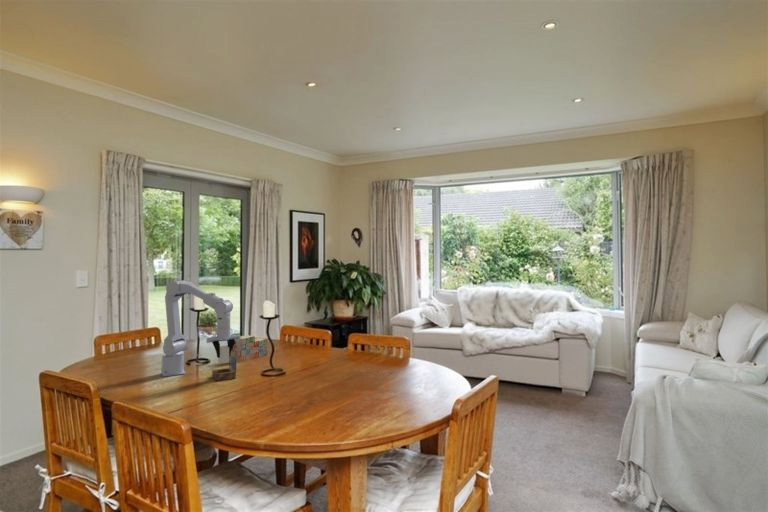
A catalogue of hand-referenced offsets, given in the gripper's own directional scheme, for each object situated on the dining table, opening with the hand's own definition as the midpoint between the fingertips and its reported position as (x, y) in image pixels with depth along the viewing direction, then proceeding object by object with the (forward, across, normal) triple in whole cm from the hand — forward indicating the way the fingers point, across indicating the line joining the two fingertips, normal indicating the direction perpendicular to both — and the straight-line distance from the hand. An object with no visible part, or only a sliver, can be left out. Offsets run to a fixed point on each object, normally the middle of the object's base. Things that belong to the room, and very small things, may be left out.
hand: (223, 356), depth 197 cm
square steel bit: (+2, 0, 0) cm, 2 cm away
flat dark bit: (+10, +6, +9) cm, 14 cm away
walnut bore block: (+10, 0, 0) cm, 10 cm away
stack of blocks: (+10, +20, +31) cm, 38 cm away
